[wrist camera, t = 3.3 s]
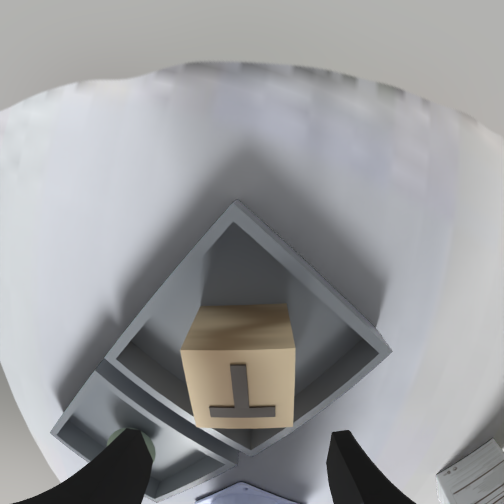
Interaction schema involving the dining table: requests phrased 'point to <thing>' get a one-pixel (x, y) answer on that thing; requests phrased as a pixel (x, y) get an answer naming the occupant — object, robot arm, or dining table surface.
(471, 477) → the supplement box
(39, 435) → the dining table surface
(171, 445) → the tray far
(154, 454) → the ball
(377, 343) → the tray near
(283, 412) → the letter cube
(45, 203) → the dining table surface
